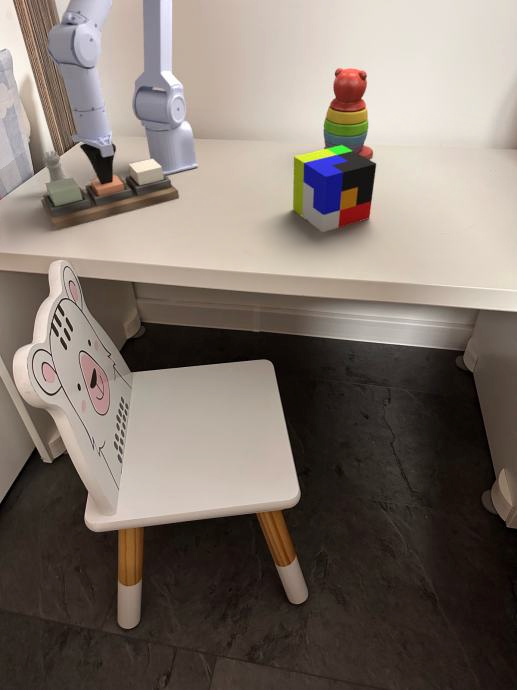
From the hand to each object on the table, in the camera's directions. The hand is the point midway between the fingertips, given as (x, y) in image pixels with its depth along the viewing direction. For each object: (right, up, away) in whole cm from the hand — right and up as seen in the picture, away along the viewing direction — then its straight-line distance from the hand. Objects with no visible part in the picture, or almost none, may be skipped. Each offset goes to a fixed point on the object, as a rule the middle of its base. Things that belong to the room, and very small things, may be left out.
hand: (106, 182), depth 95 cm
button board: (0, -3, +3) cm, 4 cm away
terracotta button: (0, -2, +2) cm, 2 cm away
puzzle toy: (+42, -7, -3) cm, 43 cm away
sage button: (-7, -4, -2) cm, 8 cm away
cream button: (+7, +2, +4) cm, 8 cm away
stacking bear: (+48, +11, +16) cm, 52 cm away
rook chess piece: (-11, 0, +7) cm, 13 cm away
